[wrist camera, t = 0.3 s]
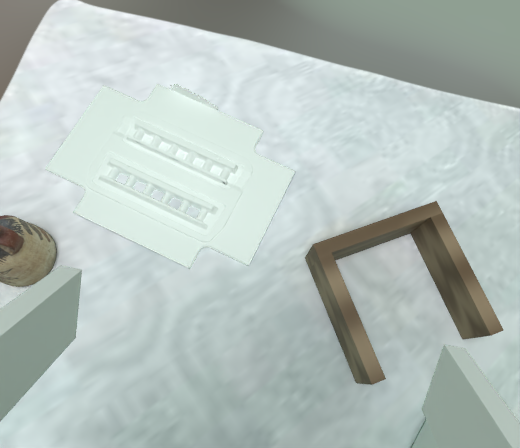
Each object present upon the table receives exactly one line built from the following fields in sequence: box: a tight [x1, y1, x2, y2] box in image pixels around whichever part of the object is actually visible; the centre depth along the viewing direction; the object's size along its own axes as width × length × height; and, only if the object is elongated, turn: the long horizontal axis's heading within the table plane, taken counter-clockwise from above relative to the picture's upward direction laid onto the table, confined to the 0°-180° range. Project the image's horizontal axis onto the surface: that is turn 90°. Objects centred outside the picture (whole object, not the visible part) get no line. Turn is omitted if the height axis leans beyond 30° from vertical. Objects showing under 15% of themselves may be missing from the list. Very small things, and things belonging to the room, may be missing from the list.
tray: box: [46, 84, 295, 268], centre depth 55 cm, size 20×28×4 cm
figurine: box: [0, 215, 56, 287], centre depth 46 cm, size 7×7×12 cm
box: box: [305, 201, 503, 385], centre depth 49 cm, size 15×15×6 cm
